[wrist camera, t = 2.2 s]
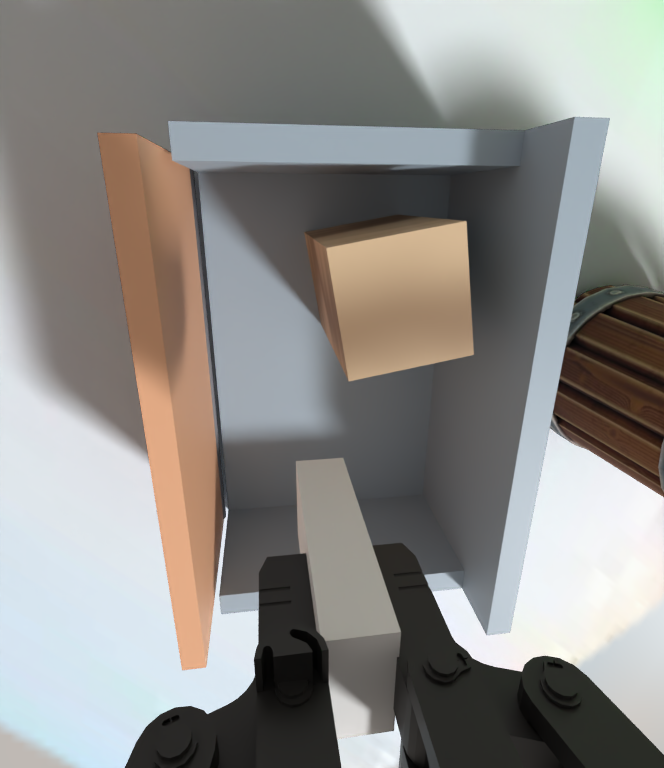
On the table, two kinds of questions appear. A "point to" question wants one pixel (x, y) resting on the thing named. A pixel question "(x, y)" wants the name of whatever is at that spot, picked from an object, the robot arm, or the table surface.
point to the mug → (616, 380)
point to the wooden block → (393, 292)
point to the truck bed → (401, 388)
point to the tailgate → (171, 369)
